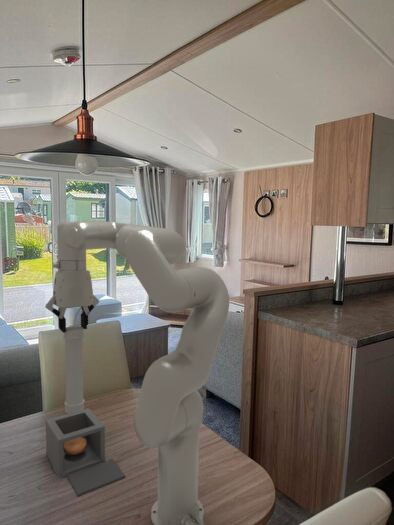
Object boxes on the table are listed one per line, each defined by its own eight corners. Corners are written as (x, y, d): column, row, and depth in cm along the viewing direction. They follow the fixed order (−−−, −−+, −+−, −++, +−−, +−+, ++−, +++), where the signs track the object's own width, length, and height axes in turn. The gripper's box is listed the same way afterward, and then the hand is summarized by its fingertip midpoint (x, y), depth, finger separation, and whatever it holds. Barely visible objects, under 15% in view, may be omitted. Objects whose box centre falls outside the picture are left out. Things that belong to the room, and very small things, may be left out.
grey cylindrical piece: (60, 411, 110) (58, 308, 107) (76, 403, 115) (75, 304, 112) (74, 416, 107) (73, 311, 104) (90, 407, 113) (89, 307, 110)
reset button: (89, 454, 112) (89, 444, 112) (67, 462, 108) (67, 452, 108) (82, 443, 117) (82, 434, 117) (60, 450, 113) (60, 441, 113)
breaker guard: (104, 462, 111) (104, 426, 110) (59, 478, 104) (58, 440, 103) (89, 441, 122) (88, 408, 121) (46, 454, 114) (45, 419, 113)
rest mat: (125, 477, 105) (125, 475, 105) (77, 496, 97) (77, 494, 97) (112, 460, 112) (112, 458, 112) (67, 477, 105) (67, 475, 104)
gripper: (43, 269, 99) (45, 337, 101) (106, 265, 109) (107, 328, 111) (36, 266, 105) (38, 331, 107) (97, 263, 115) (97, 322, 117)
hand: (73, 329), depth 109 cm, fingers closed on grey cylindrical piece, 5 cm apart
